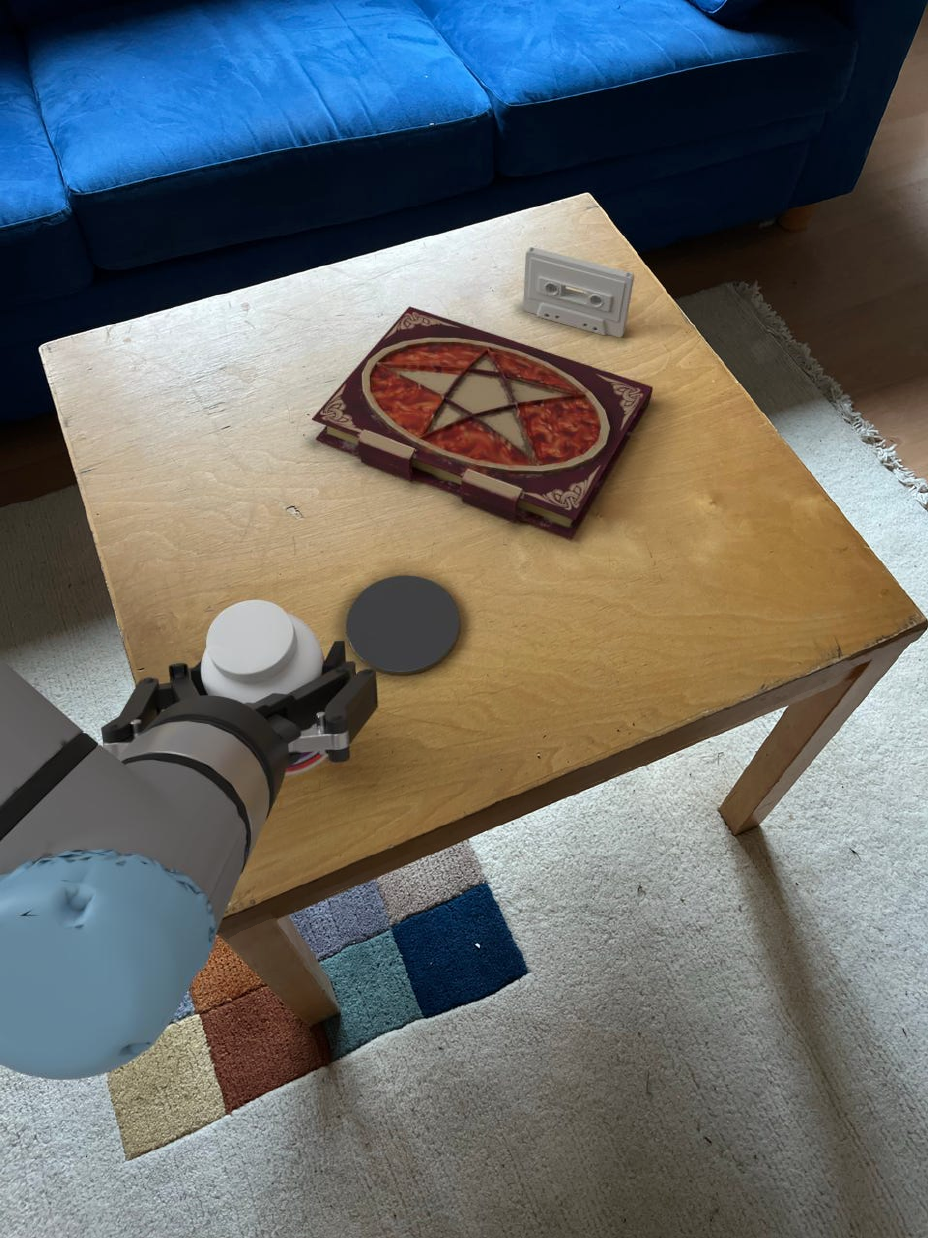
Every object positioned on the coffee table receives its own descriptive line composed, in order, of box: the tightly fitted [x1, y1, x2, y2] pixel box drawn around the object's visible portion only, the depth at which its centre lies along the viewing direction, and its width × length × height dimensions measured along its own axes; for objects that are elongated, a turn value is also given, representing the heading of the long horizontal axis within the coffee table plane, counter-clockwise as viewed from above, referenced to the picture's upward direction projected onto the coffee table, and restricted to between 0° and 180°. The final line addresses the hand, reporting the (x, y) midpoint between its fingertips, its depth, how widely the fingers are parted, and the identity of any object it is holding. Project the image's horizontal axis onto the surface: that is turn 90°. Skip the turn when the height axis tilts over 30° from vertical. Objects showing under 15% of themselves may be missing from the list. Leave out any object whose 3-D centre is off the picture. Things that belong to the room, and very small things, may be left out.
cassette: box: [522, 246, 635, 338], centre depth 94 cm, size 12×2×8 cm, turn 66°
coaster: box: [345, 574, 461, 676], centre depth 76 cm, size 10×10×1 cm
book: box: [311, 306, 654, 540], centre depth 87 cm, size 28×21×5 cm
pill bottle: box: [201, 599, 328, 777], centre depth 60 cm, size 8×8×14 cm
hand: (281, 660), depth 64 cm, fingers closed on pill bottle, 8 cm apart
